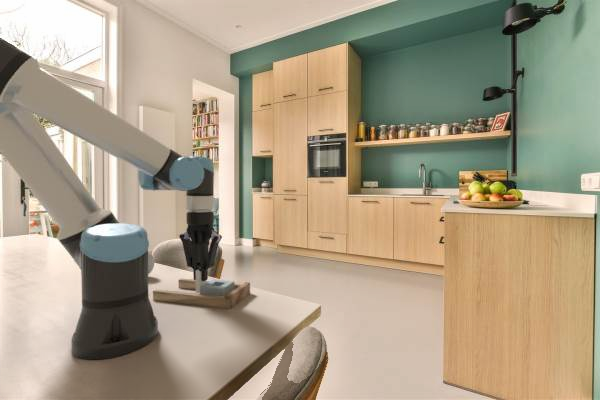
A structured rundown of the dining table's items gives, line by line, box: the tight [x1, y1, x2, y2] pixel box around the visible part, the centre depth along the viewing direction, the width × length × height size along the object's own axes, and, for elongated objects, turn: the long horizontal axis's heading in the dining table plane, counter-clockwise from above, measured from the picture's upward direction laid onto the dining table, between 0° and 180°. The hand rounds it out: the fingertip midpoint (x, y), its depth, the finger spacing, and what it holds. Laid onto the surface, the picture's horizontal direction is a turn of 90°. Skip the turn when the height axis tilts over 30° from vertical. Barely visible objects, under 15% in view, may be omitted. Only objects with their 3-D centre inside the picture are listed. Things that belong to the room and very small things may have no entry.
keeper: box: [199, 279, 235, 297], centre depth 86 cm, size 7×7×4 cm
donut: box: [148, 250, 155, 275], centre depth 106 cm, size 10×4×10 cm, turn 84°
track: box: [152, 278, 251, 310], centre depth 87 cm, size 12×24×3 cm, turn 75°
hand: (200, 291), depth 87 cm, fingers closed
